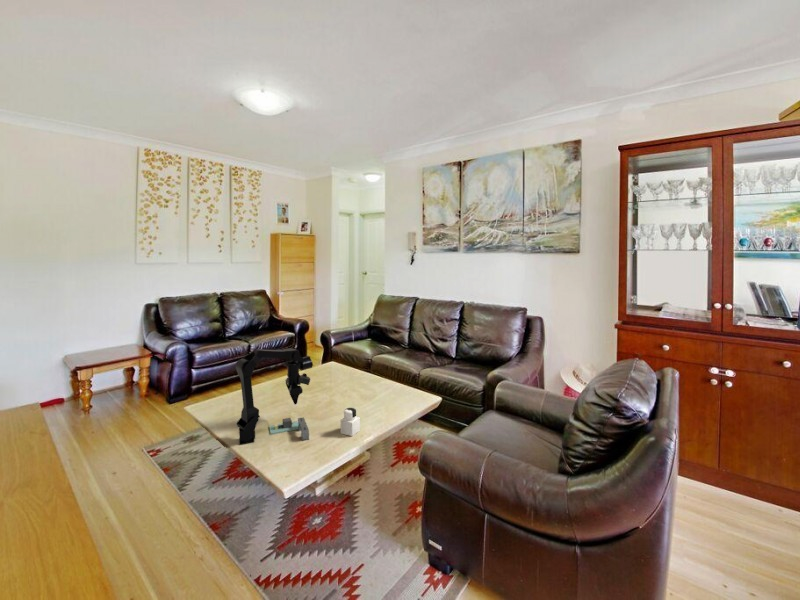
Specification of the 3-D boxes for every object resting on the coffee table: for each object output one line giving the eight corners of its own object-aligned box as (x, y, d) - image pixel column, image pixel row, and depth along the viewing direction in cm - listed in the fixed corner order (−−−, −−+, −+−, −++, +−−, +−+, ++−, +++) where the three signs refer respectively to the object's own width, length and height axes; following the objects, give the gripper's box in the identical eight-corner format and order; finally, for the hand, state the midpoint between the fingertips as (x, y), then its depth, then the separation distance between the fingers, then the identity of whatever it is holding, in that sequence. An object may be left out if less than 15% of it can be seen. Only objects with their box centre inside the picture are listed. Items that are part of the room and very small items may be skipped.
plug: (275, 430, 185) (275, 423, 184) (274, 426, 188) (274, 420, 188) (293, 426, 188) (293, 420, 188) (292, 423, 192) (292, 417, 192)
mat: (270, 434, 182) (270, 433, 182) (269, 426, 190) (269, 425, 190) (299, 429, 187) (299, 428, 187) (296, 421, 195) (296, 420, 195)
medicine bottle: (348, 427, 189) (348, 405, 188) (360, 430, 186) (359, 408, 184) (340, 433, 183) (339, 410, 181) (352, 436, 180) (351, 413, 178)
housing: (302, 440, 176) (302, 430, 175) (298, 427, 189) (297, 417, 188) (309, 439, 177) (308, 429, 176) (303, 426, 190) (303, 416, 189)
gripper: (312, 375, 186) (313, 405, 188) (305, 365, 203) (306, 392, 205) (289, 378, 181) (290, 408, 183) (284, 368, 198) (286, 395, 200)
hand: (294, 401), depth 193 cm, fingers open, 9 cm apart
